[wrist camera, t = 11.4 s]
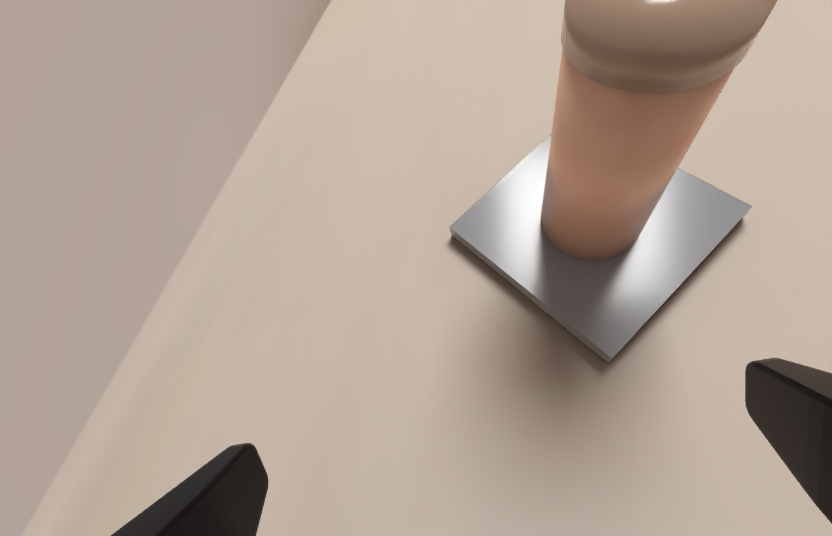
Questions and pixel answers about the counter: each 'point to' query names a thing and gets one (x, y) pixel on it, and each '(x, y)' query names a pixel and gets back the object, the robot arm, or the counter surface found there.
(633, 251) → the coaster
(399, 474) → the counter surface
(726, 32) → the spice jar
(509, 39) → the counter surface
